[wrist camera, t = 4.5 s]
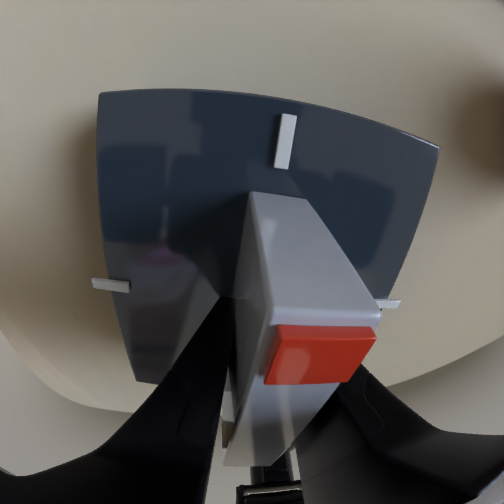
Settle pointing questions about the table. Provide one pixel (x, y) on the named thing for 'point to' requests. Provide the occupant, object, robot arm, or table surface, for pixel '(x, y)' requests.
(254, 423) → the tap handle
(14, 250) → the table surface
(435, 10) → the table surface
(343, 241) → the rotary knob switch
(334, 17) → the table surface
